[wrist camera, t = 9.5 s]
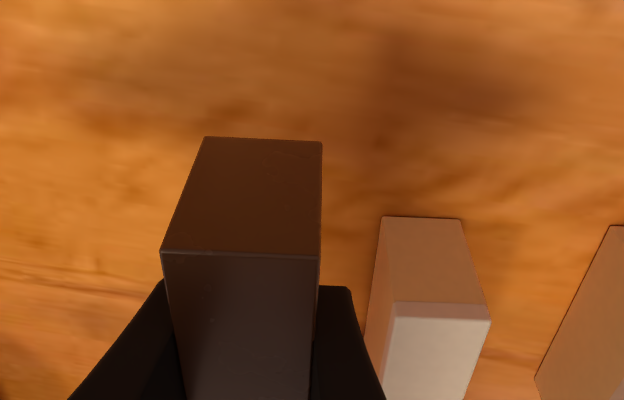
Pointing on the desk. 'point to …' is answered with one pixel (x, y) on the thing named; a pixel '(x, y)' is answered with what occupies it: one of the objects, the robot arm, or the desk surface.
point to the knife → (246, 269)
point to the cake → (591, 333)
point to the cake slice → (424, 310)
